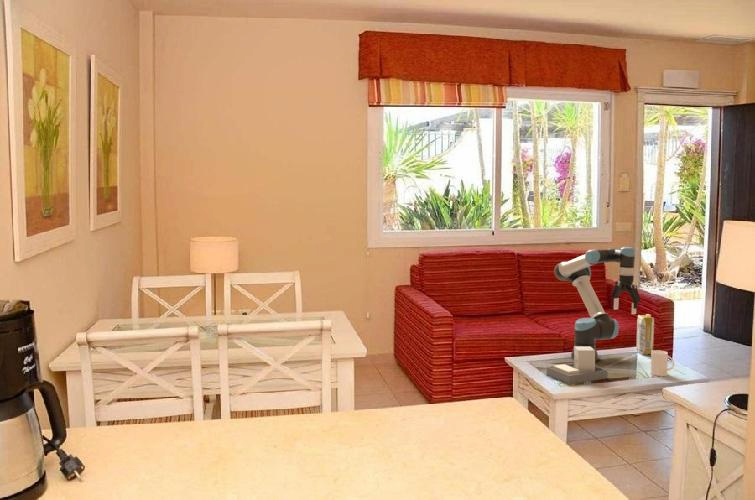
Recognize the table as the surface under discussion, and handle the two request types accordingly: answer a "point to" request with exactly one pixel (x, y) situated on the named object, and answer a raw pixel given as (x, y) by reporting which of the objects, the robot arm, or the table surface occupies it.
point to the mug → (659, 363)
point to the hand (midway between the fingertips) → (624, 311)
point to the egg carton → (566, 369)
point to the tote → (577, 375)
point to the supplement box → (584, 359)
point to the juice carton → (645, 334)
